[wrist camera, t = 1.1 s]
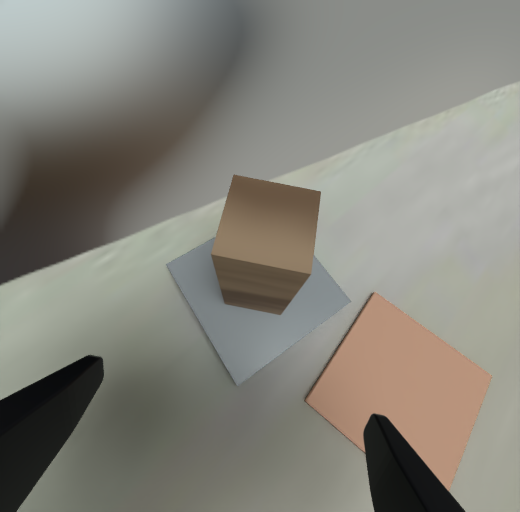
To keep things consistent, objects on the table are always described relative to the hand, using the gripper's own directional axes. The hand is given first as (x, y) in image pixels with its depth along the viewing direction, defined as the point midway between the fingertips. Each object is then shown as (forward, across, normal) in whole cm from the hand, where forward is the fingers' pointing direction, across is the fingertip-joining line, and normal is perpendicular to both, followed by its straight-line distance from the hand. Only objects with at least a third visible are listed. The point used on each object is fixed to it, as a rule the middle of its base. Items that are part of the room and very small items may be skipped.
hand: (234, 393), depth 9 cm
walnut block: (+13, 0, +3) cm, 13 cm away
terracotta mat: (+10, -13, +8) cm, 18 cm away
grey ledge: (+14, 0, +4) cm, 15 cm away
